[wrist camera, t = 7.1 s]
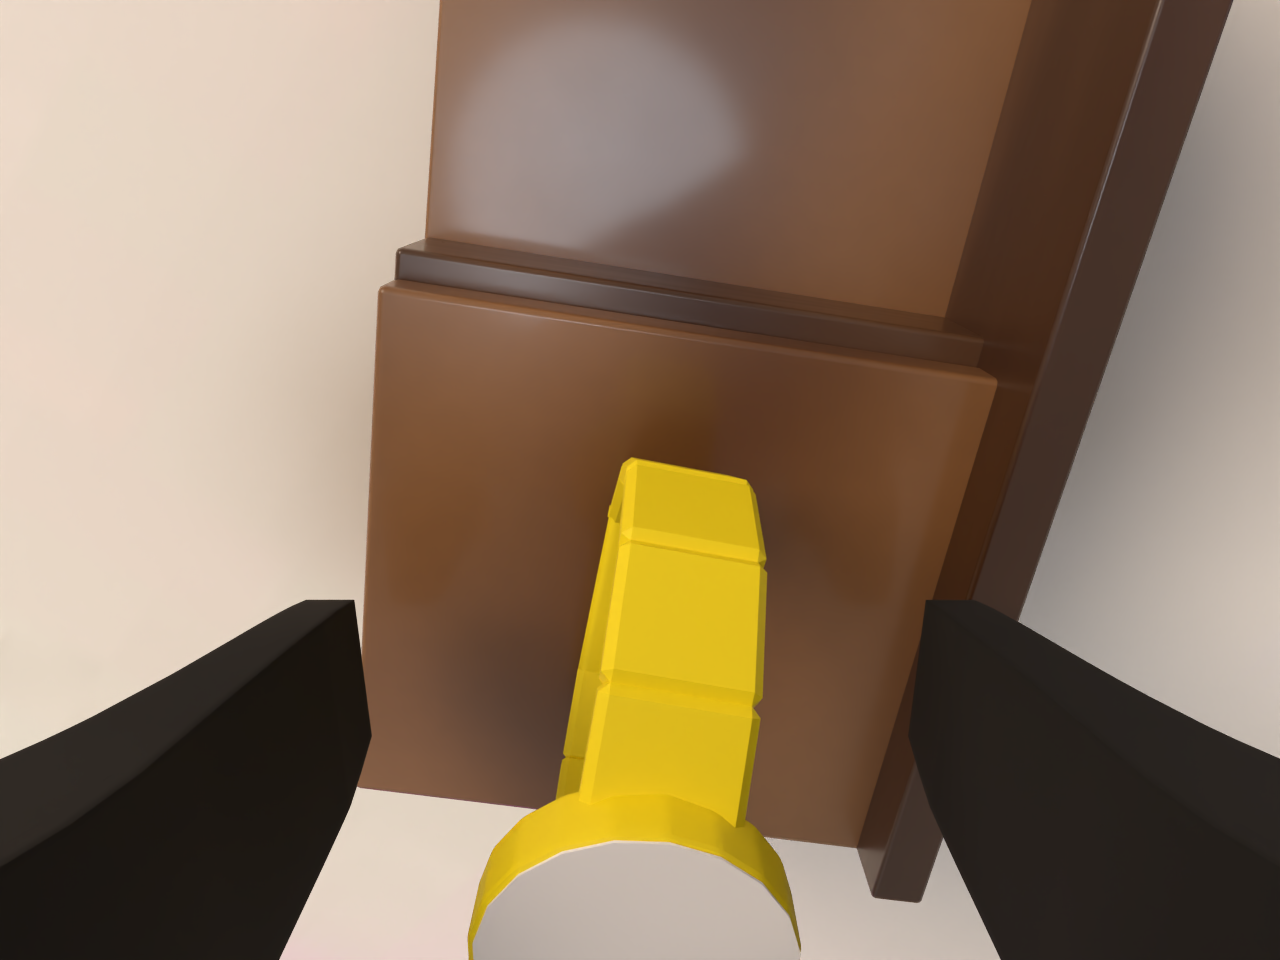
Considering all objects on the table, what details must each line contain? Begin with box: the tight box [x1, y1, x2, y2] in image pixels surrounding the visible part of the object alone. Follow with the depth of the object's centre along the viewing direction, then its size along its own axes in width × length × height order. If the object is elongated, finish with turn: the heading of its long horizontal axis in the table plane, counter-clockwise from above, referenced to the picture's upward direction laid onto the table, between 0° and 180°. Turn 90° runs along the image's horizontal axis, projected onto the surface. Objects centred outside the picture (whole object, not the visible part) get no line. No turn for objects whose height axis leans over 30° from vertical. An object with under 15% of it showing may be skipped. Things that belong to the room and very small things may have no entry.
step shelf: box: [357, 0, 1233, 903], centre depth 13 cm, size 9×16×6 cm, turn 171°
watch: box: [468, 457, 801, 960], centre depth 10 cm, size 6×3×6 cm, turn 169°
